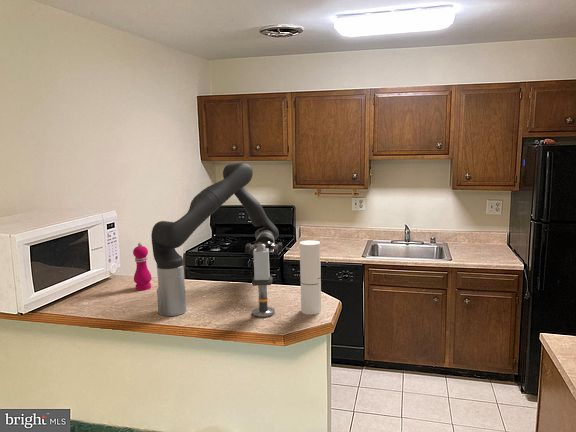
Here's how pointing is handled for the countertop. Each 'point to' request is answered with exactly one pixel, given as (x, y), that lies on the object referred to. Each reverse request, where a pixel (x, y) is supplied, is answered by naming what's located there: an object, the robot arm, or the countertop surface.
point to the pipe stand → (262, 297)
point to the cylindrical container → (310, 277)
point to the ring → (262, 282)
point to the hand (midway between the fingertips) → (263, 252)
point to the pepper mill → (141, 268)
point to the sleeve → (261, 264)
